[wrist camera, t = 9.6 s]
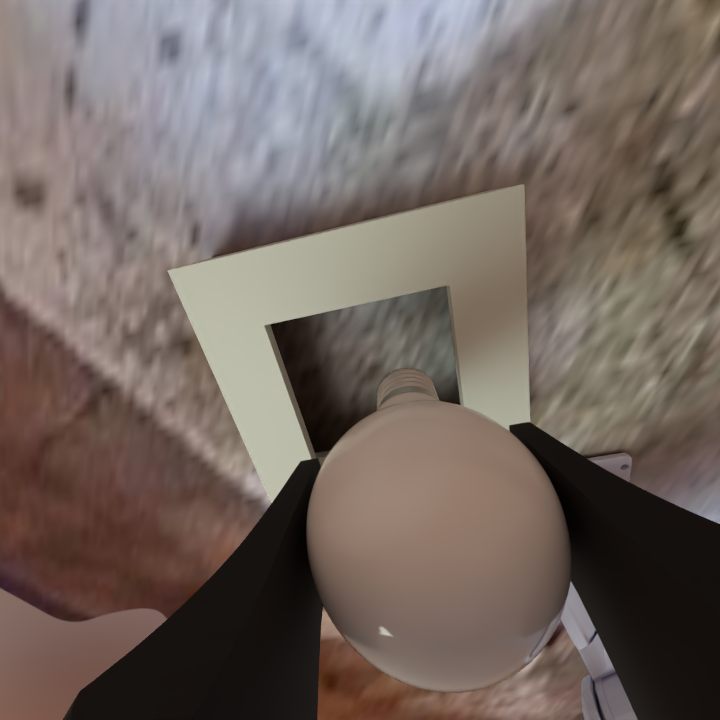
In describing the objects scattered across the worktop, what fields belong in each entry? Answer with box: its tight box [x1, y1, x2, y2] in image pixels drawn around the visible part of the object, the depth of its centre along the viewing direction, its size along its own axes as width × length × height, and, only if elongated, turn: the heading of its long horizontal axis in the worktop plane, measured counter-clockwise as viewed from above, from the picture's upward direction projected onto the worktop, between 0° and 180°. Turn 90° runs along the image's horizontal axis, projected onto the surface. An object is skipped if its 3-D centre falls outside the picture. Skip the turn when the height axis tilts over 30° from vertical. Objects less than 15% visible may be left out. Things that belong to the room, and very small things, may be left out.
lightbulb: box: [306, 368, 572, 693], centre depth 11 cm, size 6×6×11 cm
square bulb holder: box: [168, 184, 530, 504], centre depth 19 cm, size 15×15×4 cm
